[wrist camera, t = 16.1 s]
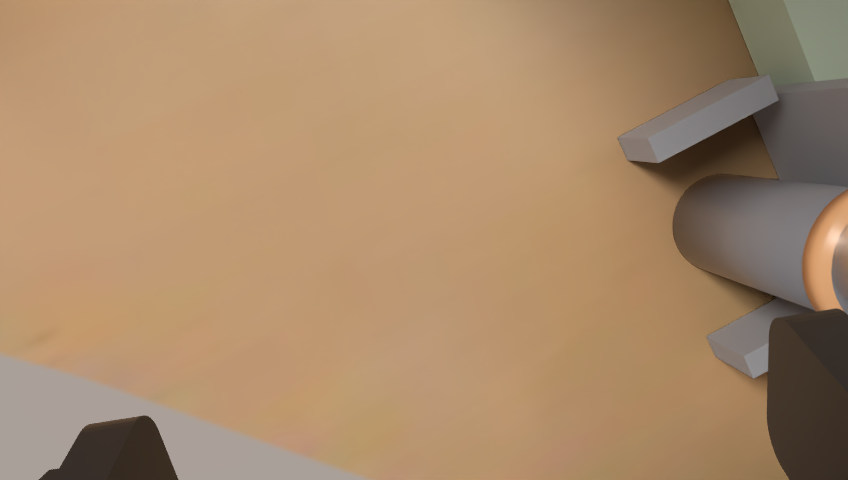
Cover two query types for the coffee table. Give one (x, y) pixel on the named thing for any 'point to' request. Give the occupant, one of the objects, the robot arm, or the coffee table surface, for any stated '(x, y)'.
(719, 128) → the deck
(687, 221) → the chute tube
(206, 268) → the coffee table surface
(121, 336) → the coffee table surface
